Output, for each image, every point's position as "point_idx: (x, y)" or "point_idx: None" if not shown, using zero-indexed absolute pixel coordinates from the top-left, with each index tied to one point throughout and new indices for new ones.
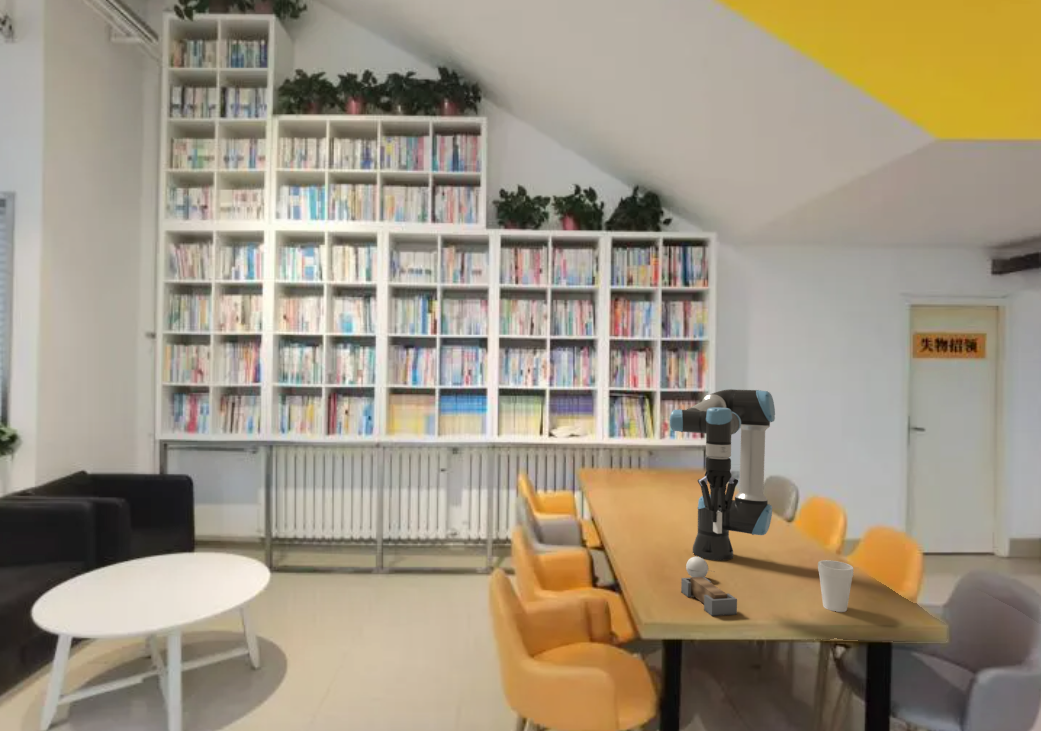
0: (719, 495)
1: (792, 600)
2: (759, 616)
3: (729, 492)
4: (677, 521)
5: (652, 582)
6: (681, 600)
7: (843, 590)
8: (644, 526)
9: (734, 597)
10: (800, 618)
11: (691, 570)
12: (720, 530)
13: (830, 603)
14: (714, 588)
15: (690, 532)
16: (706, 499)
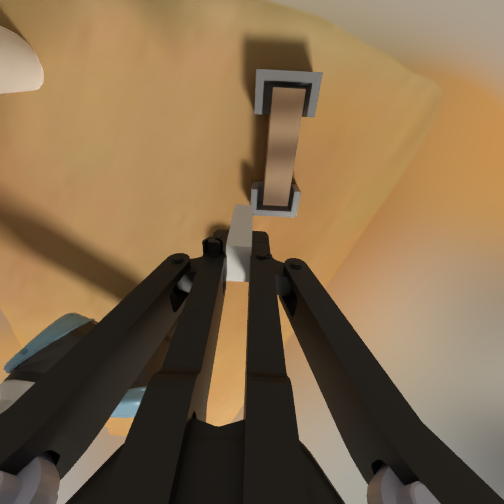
0: (213, 341)
1: (104, 127)
2: (212, 50)
3: (122, 351)
4: None
5: (310, 250)
6: (316, 173)
7: None
8: (210, 384)
9: (256, 82)
10: (120, 10)
11: None
12: (239, 209)
13: (16, 40)
14: (279, 134)
15: None
16: (336, 312)
